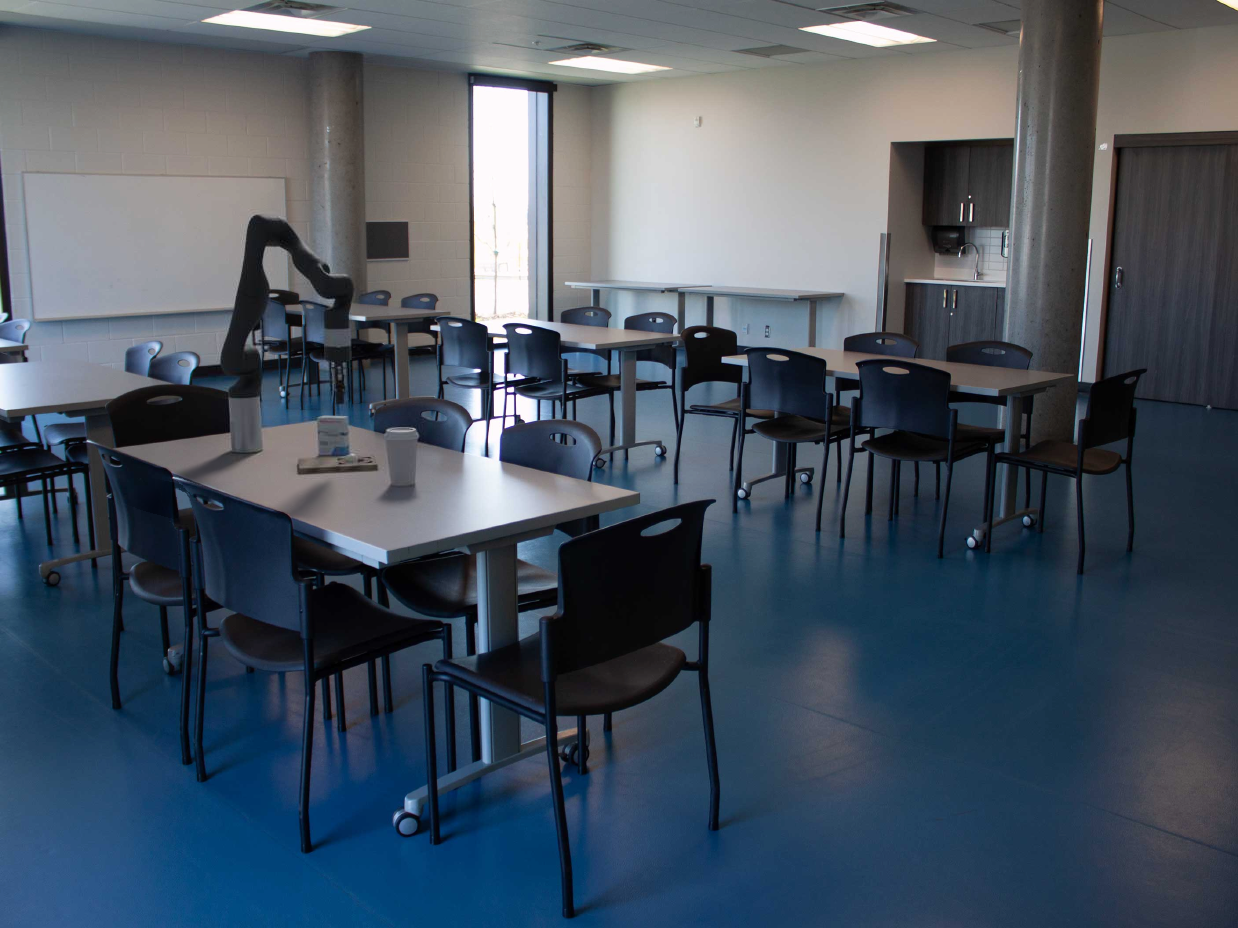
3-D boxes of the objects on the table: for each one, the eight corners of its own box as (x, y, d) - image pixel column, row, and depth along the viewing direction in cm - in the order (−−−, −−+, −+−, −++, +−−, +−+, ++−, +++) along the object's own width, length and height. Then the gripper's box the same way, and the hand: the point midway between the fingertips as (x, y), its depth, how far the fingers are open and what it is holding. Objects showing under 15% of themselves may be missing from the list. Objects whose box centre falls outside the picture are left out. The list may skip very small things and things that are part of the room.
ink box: (350, 452, 341) (348, 415, 339) (344, 455, 337) (343, 418, 334) (323, 452, 342) (322, 415, 340) (318, 454, 338) (316, 417, 335)
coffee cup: (427, 481, 301) (425, 428, 298) (409, 488, 292) (407, 433, 289) (396, 478, 304) (394, 426, 301) (378, 485, 295) (376, 431, 292)
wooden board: (299, 473, 310) (298, 468, 310) (298, 463, 324) (298, 458, 324) (377, 469, 316) (377, 464, 316) (373, 459, 330) (373, 454, 330)
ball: (360, 458, 320) (354, 468, 320) (359, 456, 323) (354, 466, 324) (350, 453, 319) (344, 463, 319) (349, 450, 322) (343, 461, 322)
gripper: (323, 342, 319) (325, 401, 322) (325, 346, 306) (327, 407, 310) (349, 341, 321) (351, 400, 324) (352, 346, 308) (354, 406, 312)
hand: (340, 403), depth 317 cm, fingers closed
